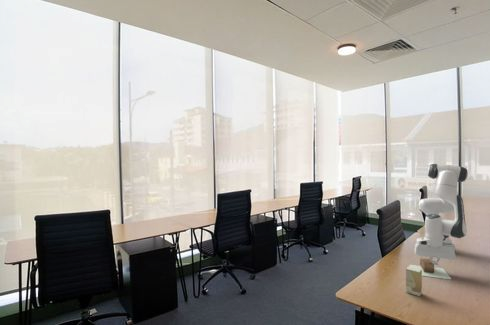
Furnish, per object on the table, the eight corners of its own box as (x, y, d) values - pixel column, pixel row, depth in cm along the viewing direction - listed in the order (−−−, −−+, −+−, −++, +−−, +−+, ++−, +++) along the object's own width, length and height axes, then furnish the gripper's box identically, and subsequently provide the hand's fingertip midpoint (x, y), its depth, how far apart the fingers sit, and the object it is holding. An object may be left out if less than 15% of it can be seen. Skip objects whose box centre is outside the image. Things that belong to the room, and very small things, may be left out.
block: (419, 257, 166) (423, 263, 156) (429, 258, 164) (434, 264, 154) (420, 265, 166) (424, 272, 156) (429, 266, 164) (434, 273, 154)
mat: (409, 265, 168) (409, 264, 168) (443, 269, 161) (443, 268, 161) (413, 274, 153) (413, 274, 153) (451, 279, 146) (451, 279, 146)
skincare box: (405, 292, 133) (405, 268, 133) (408, 289, 136) (407, 266, 136) (420, 296, 128) (419, 271, 128) (422, 293, 131) (421, 269, 131)
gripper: (453, 241, 157) (454, 264, 157) (413, 238, 165) (414, 260, 165) (456, 244, 151) (457, 268, 151) (415, 241, 159) (416, 264, 159)
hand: (434, 264), depth 158 cm, fingers closed
